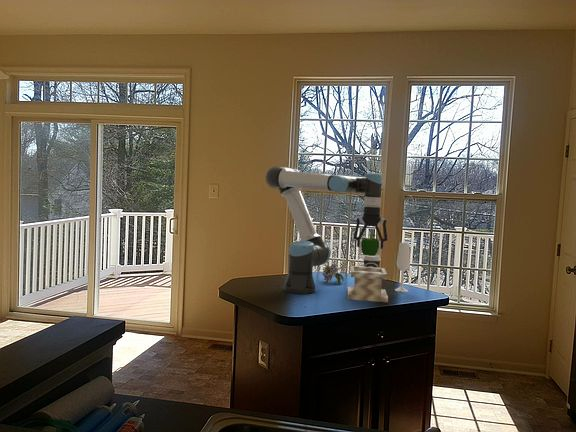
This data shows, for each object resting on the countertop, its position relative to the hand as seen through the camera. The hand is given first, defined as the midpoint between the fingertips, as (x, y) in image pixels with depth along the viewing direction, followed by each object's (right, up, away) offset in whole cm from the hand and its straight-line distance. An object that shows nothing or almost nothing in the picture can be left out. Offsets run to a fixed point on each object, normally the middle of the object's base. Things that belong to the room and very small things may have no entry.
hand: (369, 254), depth 215 cm
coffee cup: (+6, -18, +32) cm, 37 cm away
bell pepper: (0, 0, 0) cm, 1 cm away
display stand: (-1, -19, +1) cm, 20 cm away
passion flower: (-14, -17, +31) cm, 38 cm away
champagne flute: (+19, -20, +18) cm, 33 cm away
